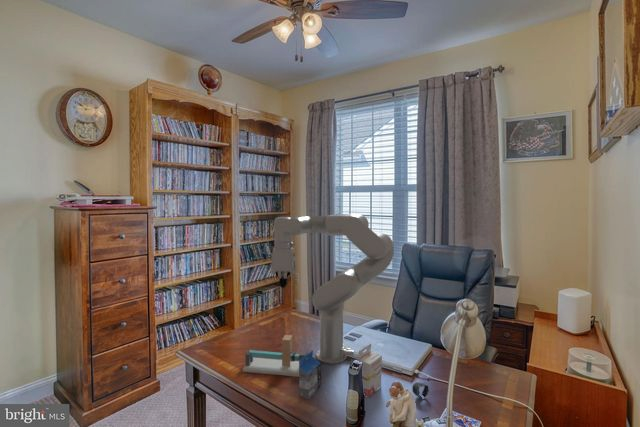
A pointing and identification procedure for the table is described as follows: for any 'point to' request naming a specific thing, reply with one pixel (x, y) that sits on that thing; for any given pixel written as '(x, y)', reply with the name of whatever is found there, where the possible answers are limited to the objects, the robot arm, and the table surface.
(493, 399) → the table surface
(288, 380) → the table surface
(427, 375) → the table surface
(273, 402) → the table surface
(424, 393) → the wristwatch
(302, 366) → the label tape box
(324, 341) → the robot arm
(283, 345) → the tan slotted box
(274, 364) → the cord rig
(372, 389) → the ink cartridge box
